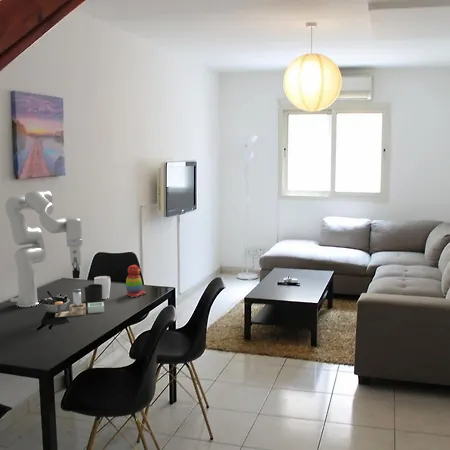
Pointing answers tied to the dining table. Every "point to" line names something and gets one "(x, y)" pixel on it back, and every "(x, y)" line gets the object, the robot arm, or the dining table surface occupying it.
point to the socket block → (72, 311)
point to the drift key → (58, 304)
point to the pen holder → (93, 293)
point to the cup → (103, 285)
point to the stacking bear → (134, 281)
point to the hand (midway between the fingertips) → (76, 276)
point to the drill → (77, 298)
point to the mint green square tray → (95, 307)
